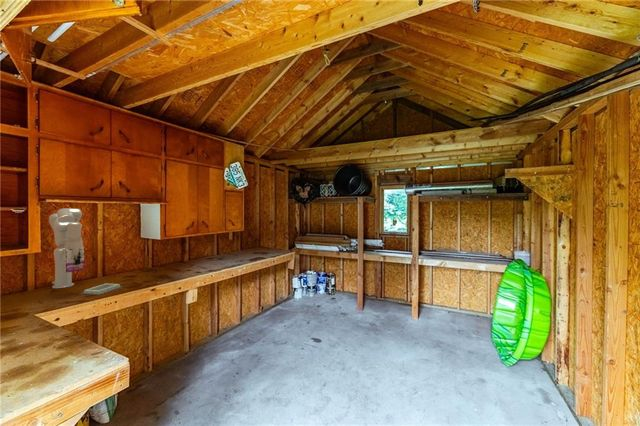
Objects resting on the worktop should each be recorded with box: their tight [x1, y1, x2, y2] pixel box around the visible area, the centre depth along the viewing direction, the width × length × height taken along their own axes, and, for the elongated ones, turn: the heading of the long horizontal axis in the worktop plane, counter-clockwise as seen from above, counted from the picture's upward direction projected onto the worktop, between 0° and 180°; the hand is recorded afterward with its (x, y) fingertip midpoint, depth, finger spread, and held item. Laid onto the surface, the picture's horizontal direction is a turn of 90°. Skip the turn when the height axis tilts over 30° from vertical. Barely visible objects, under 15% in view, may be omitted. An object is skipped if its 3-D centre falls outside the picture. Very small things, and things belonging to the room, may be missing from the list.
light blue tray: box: [83, 283, 121, 294], centre depth 200 cm, size 12×18×2 cm, turn 175°
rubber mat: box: [79, 285, 124, 296], centre depth 200 cm, size 16×20×1 cm
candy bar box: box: [62, 246, 86, 273], centre depth 189 cm, size 11×5×16 cm, turn 160°
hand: (73, 264), depth 189 cm, fingers closed on candy bar box, 5 cm apart
